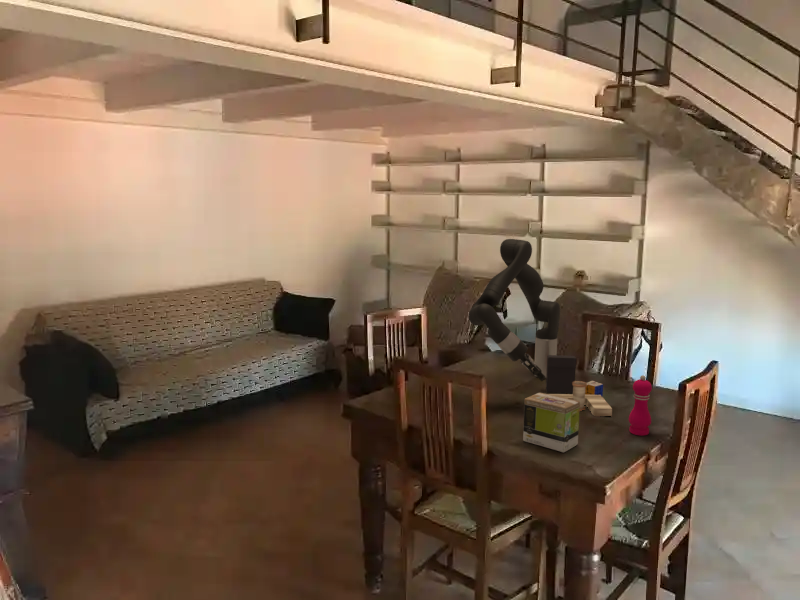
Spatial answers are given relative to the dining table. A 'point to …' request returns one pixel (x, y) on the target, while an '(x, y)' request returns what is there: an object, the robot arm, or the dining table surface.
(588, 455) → the dining table surface
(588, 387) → the puzzle toy
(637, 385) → the pepper mill
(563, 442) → the tea box
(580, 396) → the spool
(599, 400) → the notch board
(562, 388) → the black rectangular block
